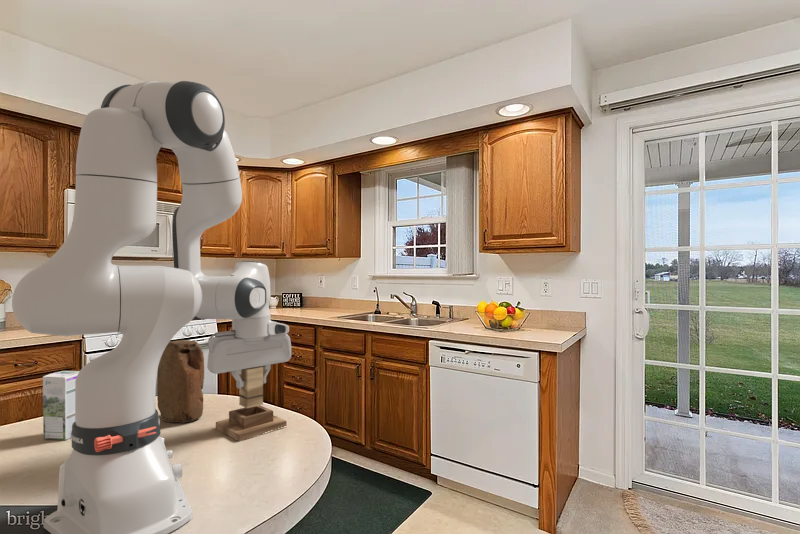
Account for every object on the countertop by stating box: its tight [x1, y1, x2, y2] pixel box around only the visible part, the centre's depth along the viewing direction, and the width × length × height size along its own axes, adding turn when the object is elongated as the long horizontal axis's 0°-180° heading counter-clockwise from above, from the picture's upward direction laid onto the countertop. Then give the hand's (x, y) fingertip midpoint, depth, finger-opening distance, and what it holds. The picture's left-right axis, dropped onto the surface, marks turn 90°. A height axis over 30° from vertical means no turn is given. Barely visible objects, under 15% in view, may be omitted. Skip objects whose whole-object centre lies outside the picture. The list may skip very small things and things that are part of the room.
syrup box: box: [42, 370, 80, 441], centre depth 102 cm, size 6×6×14 cm
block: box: [156, 339, 205, 424], centre depth 113 cm, size 11×8×20 cm
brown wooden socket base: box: [215, 405, 288, 442], centre depth 106 cm, size 12×12×4 cm
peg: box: [238, 366, 264, 408], centre depth 106 cm, size 4×4×9 cm
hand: (251, 385), depth 106 cm, fingers closed on peg, 4 cm apart
